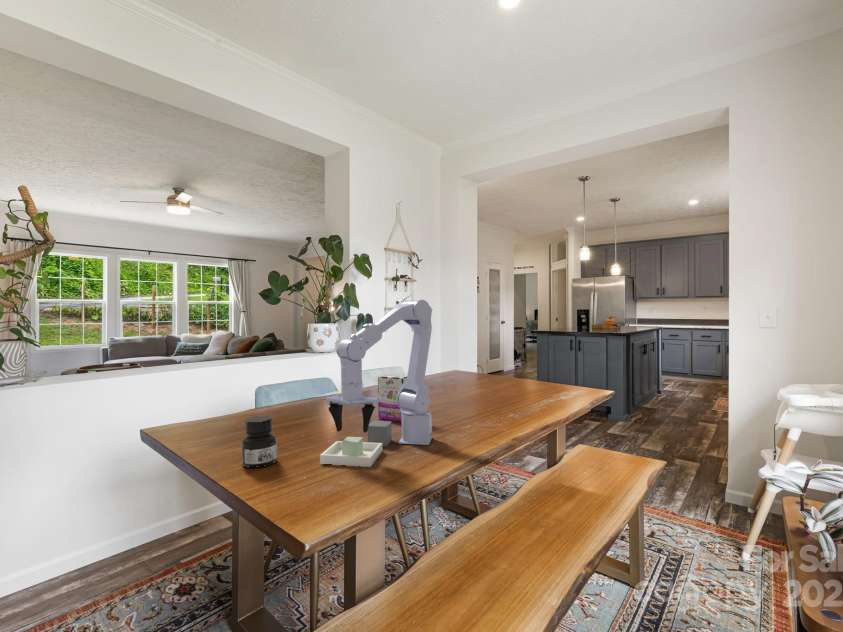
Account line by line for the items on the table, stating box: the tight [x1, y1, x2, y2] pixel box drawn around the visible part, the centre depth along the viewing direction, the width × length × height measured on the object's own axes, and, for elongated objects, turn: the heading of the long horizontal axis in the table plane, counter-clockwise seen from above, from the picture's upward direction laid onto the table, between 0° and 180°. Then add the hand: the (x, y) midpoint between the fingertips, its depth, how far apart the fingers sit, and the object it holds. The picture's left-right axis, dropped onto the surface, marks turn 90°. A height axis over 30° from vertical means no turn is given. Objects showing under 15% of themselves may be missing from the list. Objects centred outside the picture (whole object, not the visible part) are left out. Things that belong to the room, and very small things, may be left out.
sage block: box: [342, 436, 364, 456], centre depth 116 cm, size 4×4×4 cm
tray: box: [319, 440, 384, 468], centre depth 115 cm, size 14×12×2 cm
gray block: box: [367, 420, 393, 447], centre depth 129 cm, size 6×6×6 cm
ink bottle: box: [241, 415, 278, 468], centre depth 113 cm, size 10×9×12 cm
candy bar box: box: [377, 374, 407, 423], centre depth 155 cm, size 11×5×16 cm, turn 62°
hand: (352, 430), depth 115 cm, fingers open, 7 cm apart
